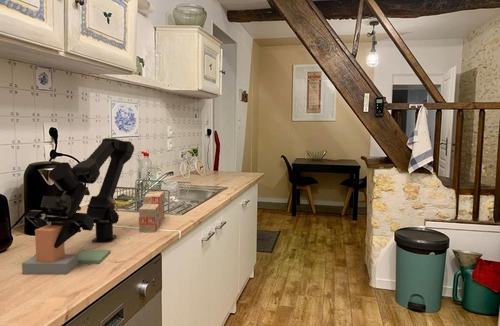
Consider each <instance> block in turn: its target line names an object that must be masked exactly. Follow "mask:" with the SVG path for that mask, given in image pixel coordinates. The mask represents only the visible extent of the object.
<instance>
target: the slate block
mask: <svg viewBox="0 0 500 326" xmlns="http://www.w3.org/2000/svg"><path fill="white" fill-rule="evenodd" d="M78 265H79V264H78V254H77V253H76V254H75V253H74V254H71V253H70V254H69V253H68V254H65V256H64V257H63V258H61V259H59V260H57V261H55V262H53V263H49V262H38V261H36V254H34V255H33V256H31V257H30V258H28V259H27V260H25V261H24V262H22V263H21V268H22V269H21V270H22V275H29V274H30V275H68V274H69V273H70V272H71V271H73V269H74V268H76V267H77V266H78Z"/></svg>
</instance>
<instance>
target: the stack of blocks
mask: <svg viewBox="0 0 500 326" xmlns="http://www.w3.org/2000/svg"><path fill="white" fill-rule="evenodd" d="M143 202H144V203H143V205H142V206H141V207H140V208H139V211H138V233H156V231H157V230H158V228H159V227H160V225H161V224H162V222H163V221H164V220H165V191H163V190H162V191H154V190H153V191H148V192H147V193H146V194H145V195H144V197H143Z"/></svg>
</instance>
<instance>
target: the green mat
mask: <svg viewBox="0 0 500 326" xmlns="http://www.w3.org/2000/svg"><path fill="white" fill-rule="evenodd" d="M111 252H112V251H111V249H81V250H80V251H78V252H77V253H76V254H78V265H81V264H82V265H83V264H84V265H86V264H87V265H88V264H90V265H91V264H93V265H94V264H95V265H97V264H98V265H99V264H101V263H102V262H103V261H104V260H105V259H106V258H107V257H108V256H109V255H110V254H111Z"/></svg>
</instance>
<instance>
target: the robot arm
mask: <svg viewBox="0 0 500 326" xmlns="http://www.w3.org/2000/svg"><path fill="white" fill-rule="evenodd" d="M134 152H135V145H134V144H133V143H132V142H131V141H129V140H128V141H127V140H126V141H125V140H121V139H118V138H114V137H111V138H110V137H105V138H103V139H102V140H101V143H100V144H99V145H98V146H97V147H96V148H95V150H94V151H93V152H92V153H91V154H90V155H89V156H88V157H87V158H86V159H84V160H82V161H80V162H78V163H76V164H75V165H74V166H73V167H72V166H71V164H70V163H69V162H64V161H63V162H61V163H60V164H59V165H57V166H55V167H53V168H52V169H50V171H49V172H48V178H49V179H50V180H51V182H52V183H54V184H55V186H56V188H58V189H59V190H60V191H62V192H63V193H62V194H61V196H52V195H50V196H48V195H43V197H42V199H41V204H40V208H42V209H43V208H45V209H48V210H47V212H48V213H49V214H51V215H48V214H47V213H46V212H45V211H44V210H41V209H32V210H29V211H28V212H27V214H26V215H25V218H26V219H27V220H28V221H29V222H30V223H31V224H33V225H34V226H35V227H38V228H41V227H44V226H46V225H52V223H56V224H62V226H63V227H62V230H61V232H60V234H59V236H58V238H57V240H56V242H55V245H54V247H55V248H58V247H59V246H60V245H62V244H63V243H64V244H65V242H66V241H68V240H70V238H71V237H74V236H75V235H77V234H78V233H81V231H89V232H90V231H92V230H93V228H94V226H95V237H94V238H93V239H92V240H91V242H95V243H96V242H97V243H101V242H102V243H104V242H105V243H108V242H110V243H111V241H113V240H114V239H115V238H116V237H117V234H114V227H113V225H115V224H117V223H118V222H119V219H120V215H119V214H118V213H117V211H116V210H115V209H116V208H115V207H116V205H115V201H114V196H115V192H116V190H117V186H118V183H119V180H120V178H121V174H122V172H123V168H124V166H125V164H126V163H127V162H128V161H130V160H131V158H132V156H133V154H134ZM109 157H110V162H109V164H108V168H107V170H106V173H105V175H104V178H103V181H102V184H101V185H100V186H101V187H100V189H99V193H98V194H97V195H93V196H91V197H90V200H89V202H88V204H87V209H86V212H80V211H81V209H82V207H81V204H82V201H83V199H84V198H85V196H90V195H91V194H90V190H89V187H88V186H86V184H87V185H89V184H90V185H93V184H95V182H97V180H98V178H99V177H100V174H101V172H100V169H101V167H103V165H104V164H105V163H106V161H107V160H108V159H109ZM77 211H79V212H77ZM38 228H37V229H38ZM81 229H82V230H81Z"/></svg>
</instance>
